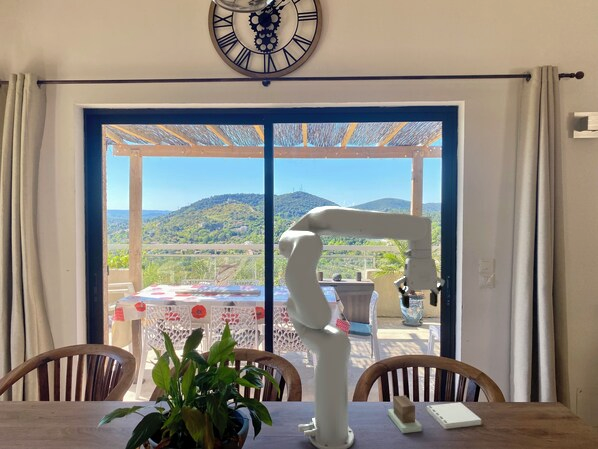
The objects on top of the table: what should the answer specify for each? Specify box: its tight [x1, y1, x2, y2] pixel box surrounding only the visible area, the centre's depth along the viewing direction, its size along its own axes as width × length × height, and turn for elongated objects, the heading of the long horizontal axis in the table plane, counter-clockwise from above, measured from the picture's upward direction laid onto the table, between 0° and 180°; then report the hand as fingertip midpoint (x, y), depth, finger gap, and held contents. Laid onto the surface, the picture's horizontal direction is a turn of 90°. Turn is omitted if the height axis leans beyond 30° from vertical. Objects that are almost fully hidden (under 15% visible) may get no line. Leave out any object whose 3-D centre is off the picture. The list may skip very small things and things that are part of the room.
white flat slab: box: [426, 402, 482, 430], centre depth 106 cm, size 12×10×2 cm
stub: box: [387, 394, 423, 434], centre depth 104 cm, size 6×10×6 cm, turn 10°
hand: (419, 306), depth 112 cm, fingers open, 9 cm apart
